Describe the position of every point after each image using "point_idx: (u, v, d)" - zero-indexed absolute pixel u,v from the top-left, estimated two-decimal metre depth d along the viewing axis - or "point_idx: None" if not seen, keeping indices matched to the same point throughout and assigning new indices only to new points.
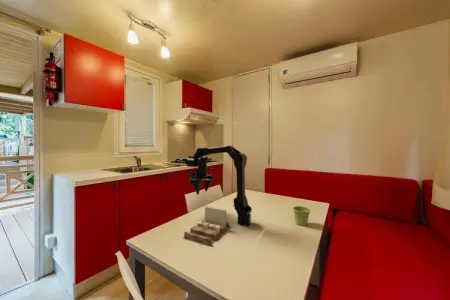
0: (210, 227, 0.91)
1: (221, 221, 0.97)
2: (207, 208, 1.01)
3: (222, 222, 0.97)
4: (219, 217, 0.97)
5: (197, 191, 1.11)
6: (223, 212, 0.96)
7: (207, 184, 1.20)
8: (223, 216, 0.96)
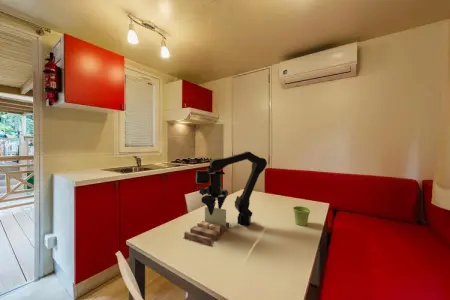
0: (210, 227, 0.91)
1: (221, 221, 0.97)
2: (207, 208, 1.01)
3: (222, 222, 0.97)
4: (219, 217, 0.97)
5: (210, 211, 0.94)
6: (223, 212, 0.96)
7: (221, 201, 1.03)
8: (223, 216, 0.96)
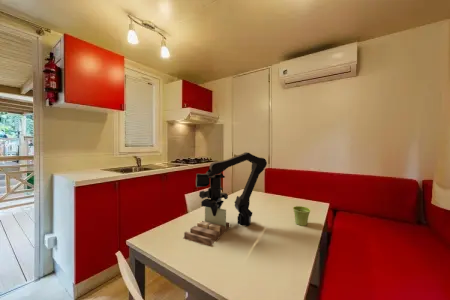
0: (210, 227, 0.91)
1: (221, 221, 0.97)
2: (207, 208, 1.01)
3: (222, 222, 0.97)
4: (219, 217, 0.97)
5: (214, 212, 0.98)
6: (223, 212, 0.96)
7: (218, 206, 1.00)
8: (223, 216, 0.96)
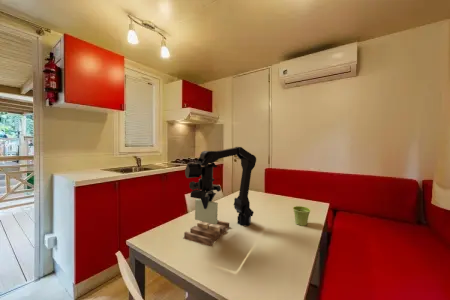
0: (210, 227, 0.91)
1: (212, 215, 0.89)
2: (197, 201, 0.93)
3: (213, 216, 0.89)
4: (210, 211, 0.90)
5: (205, 205, 0.90)
6: (214, 205, 0.89)
7: (209, 199, 0.92)
8: (214, 209, 0.89)
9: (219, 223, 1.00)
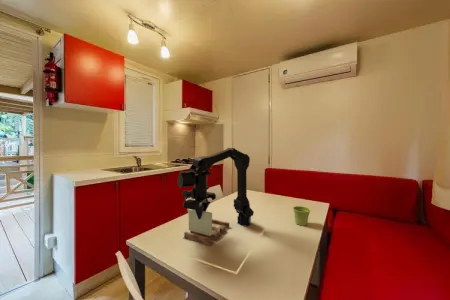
0: None
1: (206, 226, 0.84)
2: (191, 211, 0.88)
3: (207, 227, 0.84)
4: (204, 221, 0.85)
5: (199, 215, 0.85)
6: (209, 215, 0.84)
7: (203, 208, 0.87)
8: (209, 220, 0.84)
9: (219, 223, 1.00)
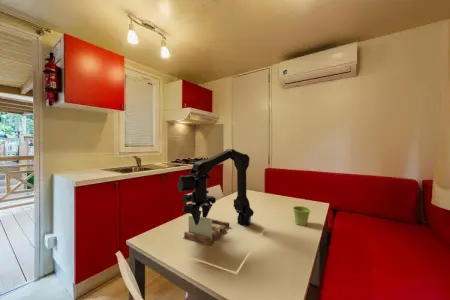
0: None
1: (206, 232, 0.85)
2: (191, 217, 0.88)
3: (207, 233, 0.84)
4: (204, 227, 0.85)
5: (196, 221, 0.83)
6: (208, 222, 0.84)
7: (206, 211, 0.89)
8: (209, 226, 0.84)
9: (219, 223, 1.00)
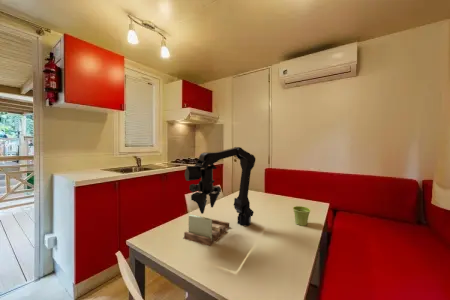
0: None
1: (206, 232, 0.85)
2: (191, 217, 0.88)
3: (207, 233, 0.84)
4: (204, 227, 0.85)
5: (201, 209, 0.86)
6: (208, 222, 0.84)
7: (213, 198, 0.95)
8: (209, 226, 0.84)
9: (219, 223, 1.00)
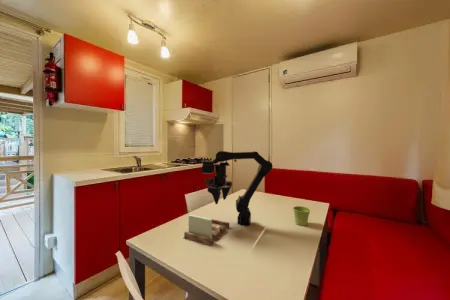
0: None
1: (206, 232, 0.85)
2: (191, 217, 0.88)
3: (207, 233, 0.84)
4: (204, 227, 0.85)
5: (216, 200, 0.98)
6: (208, 222, 0.84)
7: (226, 192, 1.07)
8: (209, 226, 0.84)
9: (219, 223, 1.00)
